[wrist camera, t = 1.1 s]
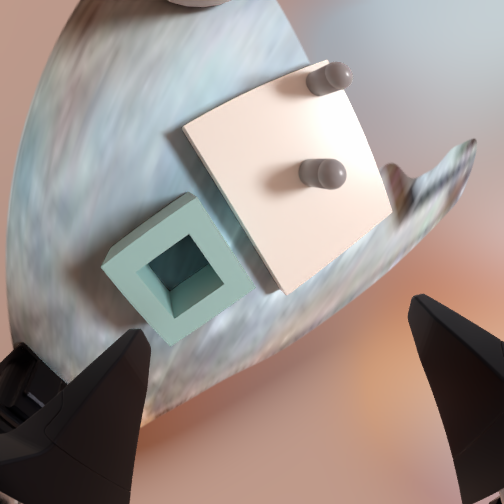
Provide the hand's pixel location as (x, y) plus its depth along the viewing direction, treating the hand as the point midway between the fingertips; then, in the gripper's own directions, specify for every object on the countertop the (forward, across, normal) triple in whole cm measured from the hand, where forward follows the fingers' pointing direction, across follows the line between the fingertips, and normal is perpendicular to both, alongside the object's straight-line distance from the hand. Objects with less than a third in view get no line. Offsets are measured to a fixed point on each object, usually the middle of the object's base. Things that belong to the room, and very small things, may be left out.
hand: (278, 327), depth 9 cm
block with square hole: (+10, +6, +2) cm, 12 cm away
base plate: (+14, -3, -1) cm, 15 cm away
